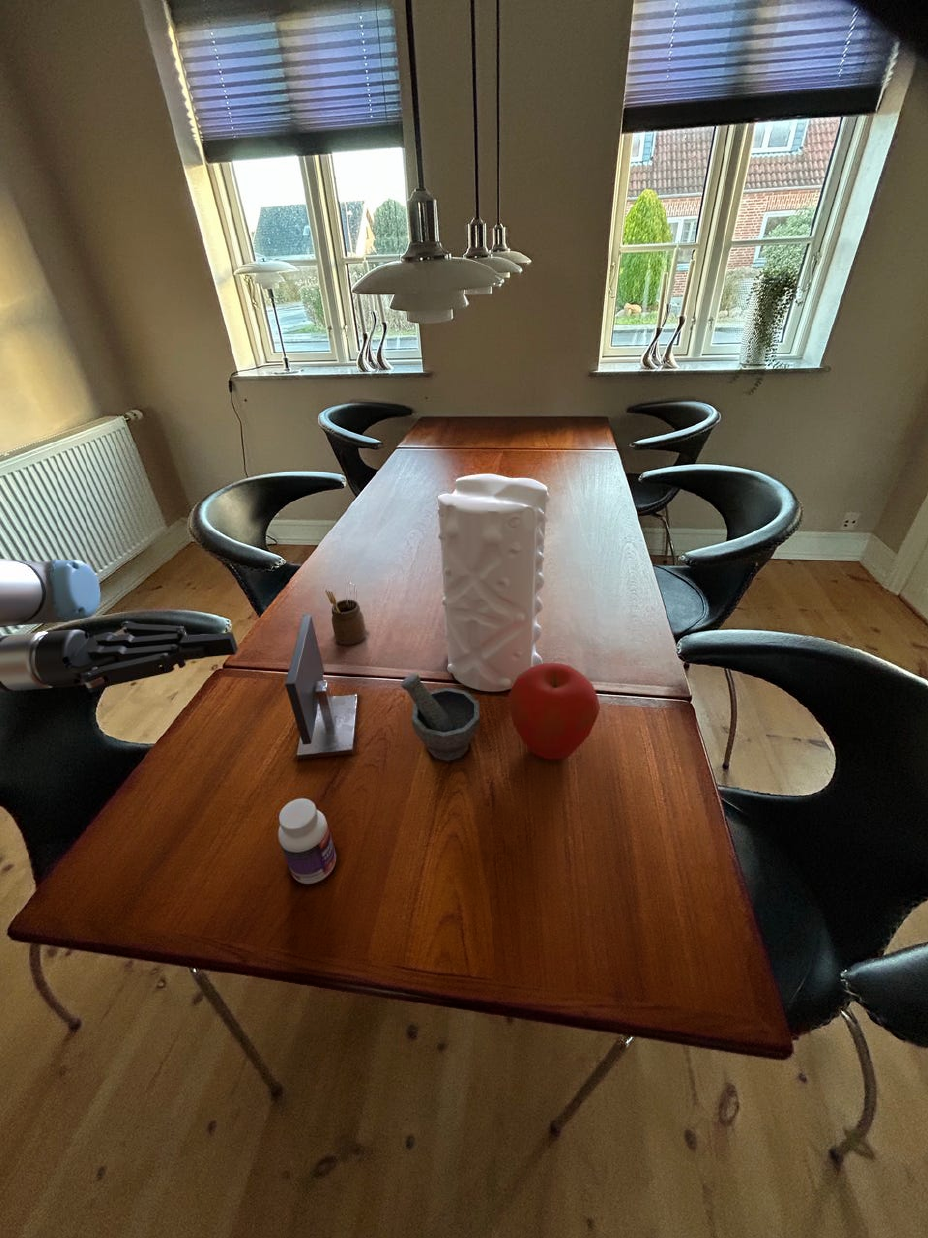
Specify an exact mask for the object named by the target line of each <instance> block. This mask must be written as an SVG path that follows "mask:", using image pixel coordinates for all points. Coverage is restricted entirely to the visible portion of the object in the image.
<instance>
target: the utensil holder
mask: <svg viewBox="0 0 928 1238" xmlns="http://www.w3.org/2000/svg"><path fill="white" fill-rule="evenodd" d="M347 585H349V582H347V583H346V585H344V586H343V588H344V594H347V588H348V586H347ZM351 585H352V586H356V585H355V583H354V582H351ZM353 591H354V592H353V594H354V595H355V597H357V596H358V595H357V594H358V591H357V589H356V587H353ZM325 594H326V596H327V598H328V600H329V602H330V604H332V606H331V615H332V616H331V625H332V629H333V634H334V638H335V640H336V641H337V643H339V644H340V645H345V646H346V645H347V646H350V645H355V644H357V643H360V642H361V641H363V640H364V638H365V637H366V633H367V632H366V631H367V630H366V623H365V618H364V615H363V614H364V613H363V612H362V611H361V607H360V604H359V602H358V601H357V598H353V599H348V598H347V596H343V598H344V599H341V600H339V601H337V599H336V597H335V595H334V593H333V592H332V591H329V590H327V589H326V590H325ZM349 594H352V592H351V586H349Z"/></svg>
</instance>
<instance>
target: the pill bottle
mask: <svg viewBox="0 0 928 1238" xmlns="http://www.w3.org/2000/svg"><path fill="white" fill-rule="evenodd" d="M278 822H279V824H280V825H279V827H278V832H277V836H278V841H279V845H280V847H281V850H282V852H283V855H284V858H285V861H286V863H287V865H288V869H289V871H290V874H291V875H292V877H293V878H294V880H295V881H297V882H299V883H301V884H303V885H312V884H316V883H318V882H320V881H323V880H324V879H326V877H328V876H329V875H330V874H331V872H333V870H334V868H335V865H336V861H337V853H336V850H335V846H334V843H333V839H332V836H331V832H330V828H329V826H328V822H327V818H326V817H325V815H324V813H322V811H320V810H318V809H317V807H316V805H315V802H313V801H312V800H310V799H308V798H304V797H303V798H296V799H293V800H291V801H289V802H288V803H286V804H285V805H284V806H283V808H282V809H281V810H280V812H279V816H278Z"/></svg>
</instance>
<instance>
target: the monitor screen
mask: <svg viewBox="0 0 928 1238" xmlns="http://www.w3.org/2000/svg"><path fill="white" fill-rule="evenodd" d="M314 625H315V624H314V621H313V617H312V614H303V615H302V619H301V622H300V626H299V629H298V630H299V631H298V633H297V638H296V642H295V645H294V647H293V648H294V649H293V653H292V656H291V660H290V664H289V668H288V672H287V676H286V679H285V683H284V685H285V689H286V692H287V695H288V699H289V702H290V705H291V709H292V713H293V716H294V720H295V723H296V726H297V730H298V733H299V738H300V737H301V740H302V743H303V745H304V744H311V743H312V738H313V732H314V726H315V720H316V715H317V709H318V703H319V702H318V698H317V694H316V688H317V683H318V681H324V673H325V668H324V664H323V659H322V655H321V651H320V647H319V642H318V638H317V635H316V630H315V629H316V628H315V626H314Z"/></svg>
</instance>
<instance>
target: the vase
mask: <svg viewBox="0 0 928 1238" xmlns="http://www.w3.org/2000/svg"><path fill="white" fill-rule="evenodd" d="M454 485H455V489H454V491H453V492H452V493H443V494H439V495H438V496H437V502H438V505H437V506H438V509H437V514H438V524H439V533H438V539H439V540H440V541H439V543H440V557H441V558H440V559H441V560H440V561H441V574H442V589H443V598H442V600H441V604H442V606H444V620H445V633H444V637H445V638H446V650H447V668H446V671H447V672H448V673H450V674H453V677H454V679H455V680H456V681H458V683H460V684H461V685H464V686H466V687H468V688H471V689H475V690H478V691H481V692H482V691H483V692H504V691H507V690H511V689H512V687H513V685H514V683H515V681H516V679H517V677H518V675H520V674H521V673H522V672H524V671H525V670H526V669H528V668H530V667H533V666H536V665H540V664H543V658H542V657H541V655H540V654H538V653H537V649H536V643H537V641H539V640H540V638H541V636H542V627H541V626H540V624H538V615H539V614H540V613H541V612H542V610H543V607H544V604H543V601H542V600H541V598H540V597H541V589H543V587H544V585H545V576H544V575H543V566H544V561H545V557H544V553H545V538H546V537H545V534H546V523H547V522H548V520H549V517H548V515H547V504H548V503H549V501H550V499H551V496H550V494H549V493H548V488H547V487H548V486H547V485H545V484H544V483H542V482H540V481H538V480H536V479H534V478H530V477H507V476H504V475H501V474H500V475H499V474H495V473H479V474H471V475H465V476H461V477H458V478H457V479H456V480H455V482H454Z"/></svg>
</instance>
